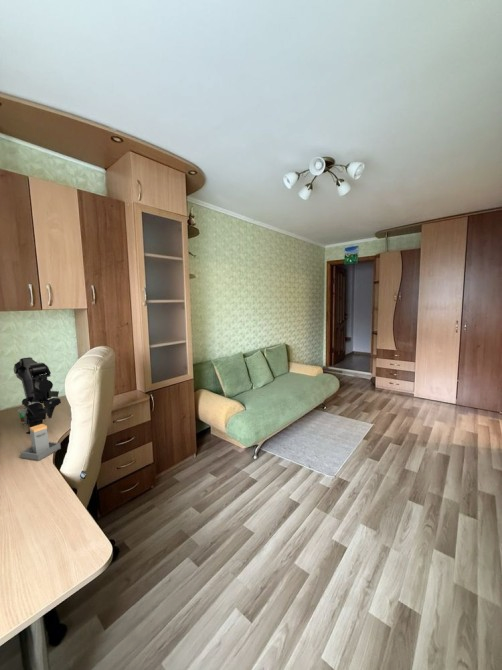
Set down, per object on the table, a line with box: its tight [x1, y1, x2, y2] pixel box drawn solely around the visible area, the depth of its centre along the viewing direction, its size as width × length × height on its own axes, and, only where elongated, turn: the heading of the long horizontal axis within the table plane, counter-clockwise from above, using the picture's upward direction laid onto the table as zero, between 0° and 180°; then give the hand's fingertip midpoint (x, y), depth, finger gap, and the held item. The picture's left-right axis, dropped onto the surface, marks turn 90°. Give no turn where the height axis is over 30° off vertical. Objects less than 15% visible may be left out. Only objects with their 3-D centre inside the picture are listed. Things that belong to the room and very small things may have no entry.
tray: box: [19, 441, 62, 462], centre depth 126 cm, size 11×11×3 cm
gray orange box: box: [29, 423, 50, 454], centre depth 125 cm, size 6×5×12 cm
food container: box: [17, 407, 27, 425], centre depth 161 cm, size 12×6×10 cm, turn 168°
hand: (43, 417), depth 138 cm, fingers open, 9 cm apart
